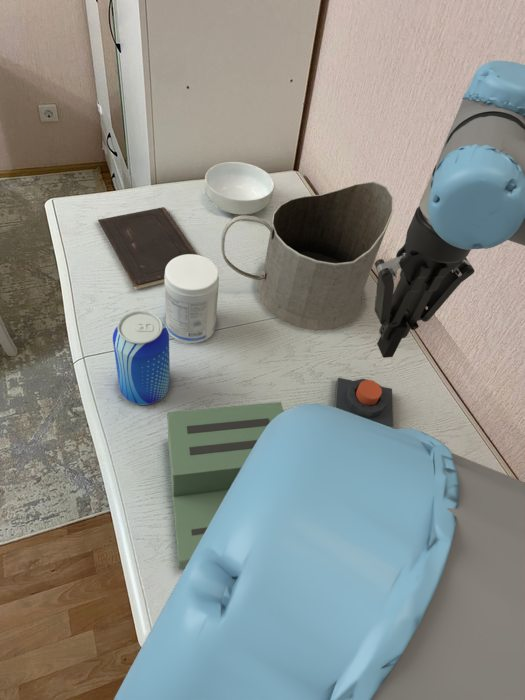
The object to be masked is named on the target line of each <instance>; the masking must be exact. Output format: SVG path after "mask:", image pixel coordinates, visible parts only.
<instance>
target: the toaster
mask: <svg viewBox="0 0 525 700" xmlns="http://www.w3.org/2000/svg"><path fill="white" fill-rule="evenodd" d="M283 411H284V409H283V405H282V402H281V401H277V402H276V401H275V402H265V403H254V404H244V405H233V406H223V407H222V406H221V407H212V408H211V407H210V408H202V409H201V408H200V409H199V408H198V409H190V410H189V409H188V410H178V411H177V410H176V411H168V412H167V447H168V459H169V470H170V471H169V472H170V482H171V494H172V505H173V516H174V517H173V519H174V528H175V529H174V530H175V539H176V552H177V553H176V554H177V563H178V569H179V570H180V569H185V567H186V566H187V564H188V562H189V560H190V558H191V557H192V555H193V553H194V551H195V549H196V548H197V546H198V544H199V542H200V540H201V539H202V537H203V535H204V533H205V531H206V530H207V528H208V526H209V524H210V522H211V521H212V519H213V517H214V515H215V514H216V512H217V510H218V508H219V506H220V505H221V503H222V501H223V499H224V498H225V496H226V494H227V492H228V490H229V489H230V487H231V485H232V483H233V482H234V480H235V478H236V476H237V475H238V473H239V471H240V469H241V468H242V466H243V464H244V462H245V461H246V459H247V457H248V456H249V454H250V452H251V450H252V449H253V447H254V445H255V444H256V442H257V440H258V439H259V437H260V436H261V434H262V433H263V431H264V430H265V428H266V427H267V425H268V424H269V423H270V422H271V421H272V420H273V419H274V418H275V417H276V416H277V415H279V414H280V413H282V412H283Z"/></svg>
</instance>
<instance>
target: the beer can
mask: <svg viewBox="0 0 525 700" xmlns="http://www.w3.org/2000/svg"><path fill="white" fill-rule="evenodd" d="M112 344H113V345H112V346H113V353H114V356H115V364H116V372H117V379H118V386H119V391H120V393H121V395H122V397H124V399H125V400H127V401H128V402H130V403H133V404H135V405H140V406H146V405H152V404H155V403H158V402H159V401H161V400H162V399H164V397H165V396H167V394H168V392H169V389H170V386H171V377H170V376H171V375H170V374H171V369H170V334H169V332H168V330H167V328H166V324H164V323H163V322H162V320H161V318H160V317H159V316H158V315H157V314H155V313H153V312H151V311H147V310H134V311H131V312H129V313H127V314H125V315H123V316H122V317H121V319H119V321H118V323H117V326H116V327H115V329H114V331H113V333H112Z"/></svg>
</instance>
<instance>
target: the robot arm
mask: <svg viewBox="0 0 525 700" xmlns="http://www.w3.org/2000/svg"><path fill="white" fill-rule="evenodd" d="M405 235H406V236H405V241H404V242H405V243H404V244H403V245H402V247H400V248H399V249H398V250H397V252H396V256H395V257H393V258H392V259H389V260H387V261H385V260H384V259H383V258H380V259H377V260H375V261H374V267H375V269H376V271H377V273H378V275H377V283H376V291H375V300H374V301H375V302H374V312H375V315H376V317H377V319H378V322H379V324H380V325H381V326H380V328H379V335H380V336H379V338H378V341H377V343H376V345H377V347H378V349H379V352H380V354H381V356H382V358H383V359H385V358H393V357H394V355H395V353H396V351H397V349H398V348H399V345H400V343H401V341H402V339H405V338H406V337H407V336H408V335H409V333H410V331H414V330H417V329H418V328H419V327H420V326H419V324H418V322H419V321H422V322H424V323H426V322H428V321H430V320H431V319H432V317H433V316H434V315H435V314H436V313H437V312H438V310H439V309H441V307H442V306H443V305H444V303H445V302H446V301H447V300H448V299H449V298H450V296H451V295H452V294H453V293H454V292H455V290H456V289H458V287H459V286H460V284H461V283H463V282H464V281H466V280H467V279H468V278H469V277H471V276H472V275H473V274H474V273H475V269H474V267H473V266H472V264H471V263H470V261H469V260H468V258H467V257H468V256H469V254H470V252H471V251H472V250H481V249H482V250H483V249H485V250H488V249H491V248H495V247H498V246H499V245H502V244H504V243H505V242H506V241H510V242H512V243H514V244H515V243H516V244H518V245H521V246H524V247H525V64H522V63H518V62H514V61H508V60H492V61H488V62H485V63H483V64H481V65H480V66H479V67H478V68H477V70H476V71H475V73H474V75H473V77H472V79H471V81H470V83H469V86H468V88H467V90H466V91H465V92H464V93H463V96H462V101H461V103H460V105H459V108H458V110H457V113H456V115H455V117H454V120H453V122H452V124H451V127H450V129H449V132H448V134H447V136H446V139H445V141H444V144H443V147H442V148H441V152H440V154H439V157H438V159H437V162H436V164H434V167H433V170H432V172H431V175H430V177H429V180H428V182H427V184H426V186H425V189H424V191H423V194H422V196H421V198H420V201H419V205H418V207H416V209H415V211H414V213H413V216H412V219H411V221H410V223H409V225H408V228H407V231H406V234H405ZM399 269H400V272H399V280H398V282H397V284H396V287H395V281H394V280H396V279H397V274H398V270H399ZM394 288H395V289H394ZM113 700H525V481H522V480H520V479H518V478H515V477H513V476H511V475H508V474H505V473H503V472H500V471H498V470H495V469H493V468H490V467H488V466H485V465H483V464H481V463H478V462H475V461H473V460H471V459H468V458H466V457H463V456H460V455H458V454H457V453H453V452H451V450H450V448H449V447H448V446H447V445H445V443H443V442H442V441H441V440H440V439H438V438H436V437H434V436H432V435H430V434H429V433H427V432H424V431H422V430H419V429H415V428H401V427H400V428H393V427H392V428H391V427H388V426H385V425H383V424H380V423H377V422H374V421H372V420H369V419H366V418H363V417H360V416H358V415H355V414H352V413H349V412H347V411H344V410H341V409H338V408H335V407H334V406H332V405H329V404H323V403H316V402H315V403H303V404H299V405H294V406H292V407H289V408H287V409H285V410H283V412H282V413H280V414H279V415H277V416H276V417H275V418H274V419H273V420H272V421H271V422H270V423H269V424H268V425H267V427H266V428H265V430H264V431H263V433H262V434H261V436H260V437H259V439H258V440H257V442H256V444H255V445H254V447H253V449H252V450H251V452H250V454H249V456H248V457H247V459H246V461H245V462H244V464H243V466H242V468H241V469H240V471H239V473H238V475H237V476H236V478H235V480H234V482H233V483H232V485H231V487H230V489H229V490H228V492H227V494H226V496H225V498H224V499H223V501H222V503H221V505H220V506H219V508H218V510H217V512H216V514H215V515H214V517H213V519H212V521H211V522H210V524H209V526H208V528H207V530H206V531H205V533H204V535H203V537H202V539H201V540H200V542H199V544H198V546H197V548H196V549H195V551H194V553H193V555H192V557H191V558H190V560H189V562H188V564H187V566H186V567H185V568H183V571H182V573H181V574H180V576H179V578H178V580H177V582H176V584H175V585H174V587H173V589H172V591H171V593H170V595H169V596H168V598H167V599H166V602H165V604H164V606H163V607H162V609H161V611H160V613H159V615H158V616H157V618H156V620H155V621H154V624H153V626H152V628H151V629H150V631H149V632H148V635H147V636H146V638H145V640H144V642H143V644H142V646H141V648H140V650H139V651H138V653H137V655H136V657H135V658H134V661H133V662H132V665H131V666H130V668H129V670H128V672H127V674H126V675H125V677H124V679H123V681H122V683H121V685H120V687H119V688H118V690H117V692H116V694H115V696H114V698H113Z"/></svg>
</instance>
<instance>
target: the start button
mask: <svg viewBox="0 0 525 700" xmlns="http://www.w3.org/2000/svg"><path fill="white" fill-rule="evenodd" d="M371 380H372V379H367V380H364V381H362V382H361V383H360V385H359V387H358V389H357V391H356V397H357V399H358V400H359V402H361V403H362V404H364V405H368V406H372V405H375V404H376V403H377V402H378V400H379V398H380V396H381V394H382V389H381V387H380V386H381V385H380V384H379V383H377V382H376V381H375V380H372V381H371ZM378 384H379V385H380V386H379V385H378Z"/></svg>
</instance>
